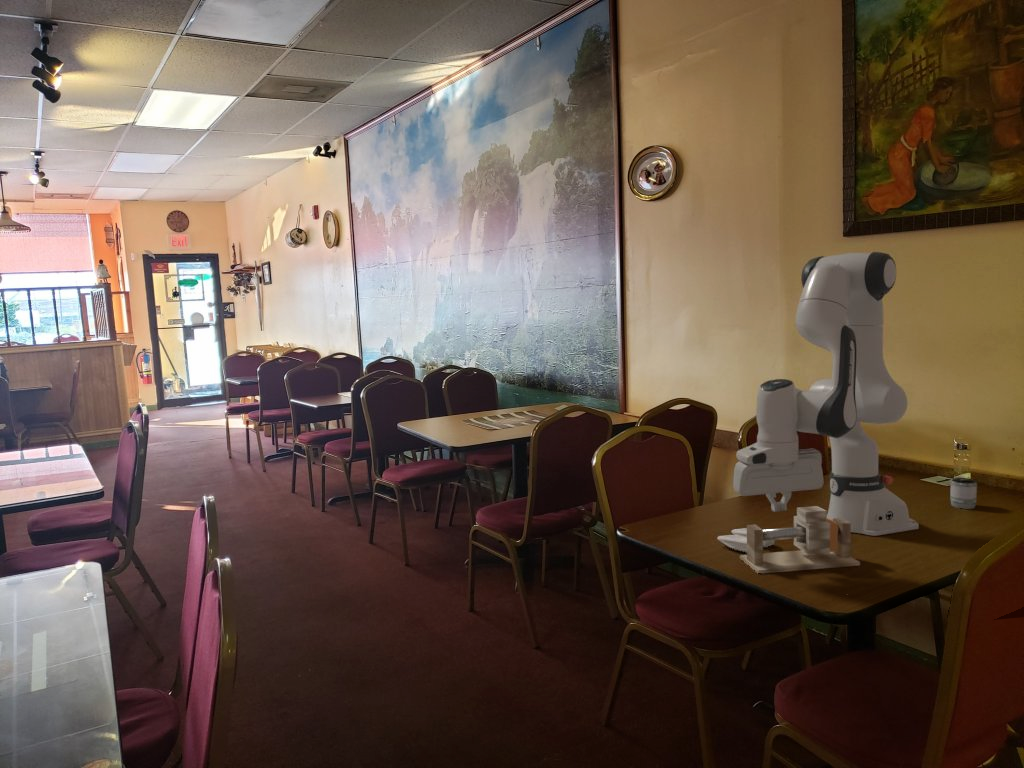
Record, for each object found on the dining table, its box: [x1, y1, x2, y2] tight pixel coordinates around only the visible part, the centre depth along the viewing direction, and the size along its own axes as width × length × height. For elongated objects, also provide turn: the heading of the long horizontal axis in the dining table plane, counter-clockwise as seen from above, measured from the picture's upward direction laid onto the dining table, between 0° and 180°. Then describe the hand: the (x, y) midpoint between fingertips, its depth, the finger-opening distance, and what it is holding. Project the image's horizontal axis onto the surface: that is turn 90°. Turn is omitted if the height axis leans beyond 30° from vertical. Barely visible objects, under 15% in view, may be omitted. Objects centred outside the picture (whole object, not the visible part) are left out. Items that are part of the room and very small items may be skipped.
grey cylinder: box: [949, 477, 978, 510], centre depth 204 cm, size 6×6×8 cm
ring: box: [827, 518, 838, 552], centre depth 167 cm, size 2×6×6 cm, turn 6°
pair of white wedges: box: [716, 527, 776, 554], centre depth 180 cm, size 12×4×11 cm
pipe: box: [763, 525, 841, 541], centre depth 166 cm, size 19×3×3 cm, turn 96°
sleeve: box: [793, 505, 830, 555], centre depth 167 cm, size 5×7×10 cm
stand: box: [739, 518, 861, 574], centre depth 167 cm, size 24×10×9 cm, turn 96°
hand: (779, 510), depth 166 cm, fingers closed
